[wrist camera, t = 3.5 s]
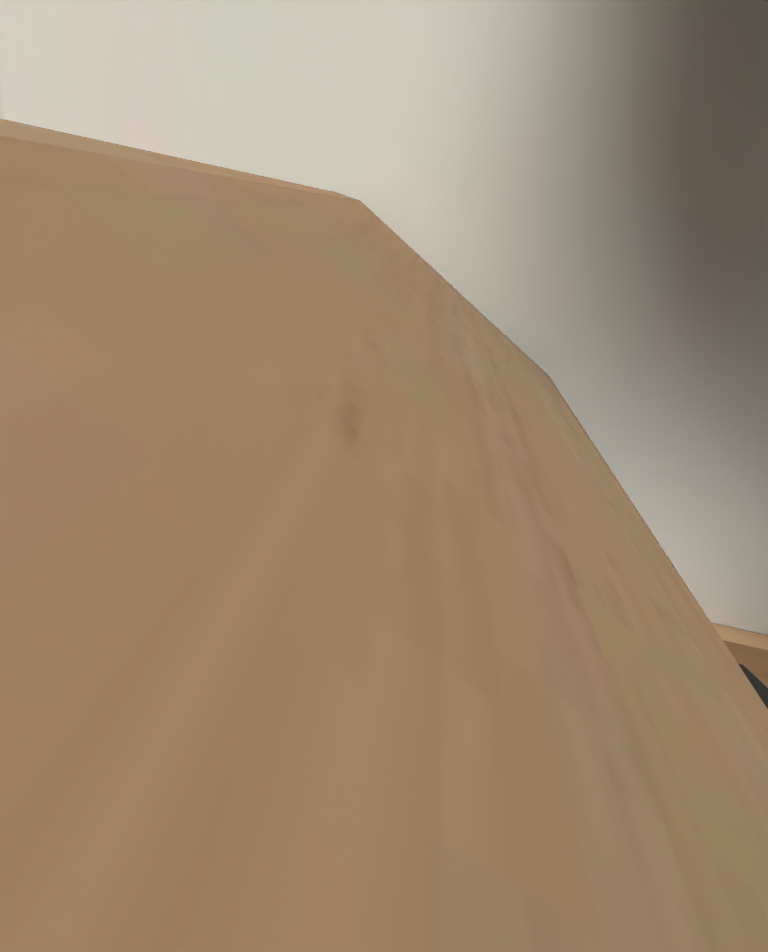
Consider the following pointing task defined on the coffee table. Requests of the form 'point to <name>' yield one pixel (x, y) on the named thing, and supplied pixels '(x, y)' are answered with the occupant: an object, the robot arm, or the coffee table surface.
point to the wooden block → (328, 603)
